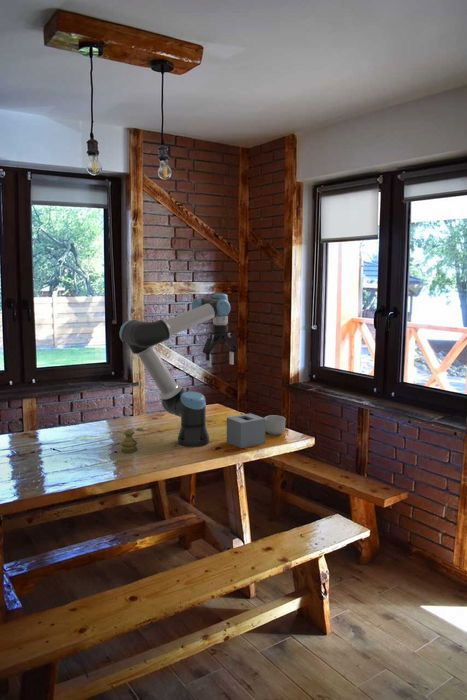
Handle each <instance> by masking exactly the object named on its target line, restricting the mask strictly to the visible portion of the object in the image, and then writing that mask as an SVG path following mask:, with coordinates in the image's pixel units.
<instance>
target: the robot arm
mask: <svg viewBox="0 0 467 700" xmlns="http://www.w3.org/2000/svg"><path fill="white" fill-rule="evenodd" d="M230 313H231V304H230V302H229V298H228V294H226V293H213V295H212V297H210V298H208V297H207V298H205V297H204V298H200V297H199V298H194V299H193V300H192V302H191V309H190V310H188V311H185V312H183V313H179V314H177V315H174V316H172V317H168V318H167V319H165V320H163V319H158V320H157V321H156V320H155V321H150V322H149V321H148V322H147V321H142V320H141V321H140V320H137V319H130V320H127V321H125V322H124V323H122V325H121V326H120V329H119V339H120V340H121V342H122V343H123V344H125V345H127V347H128V348H129V349H130V351H131V352H132V354H134V355H137V356H138V358H139V359H140V361H141V362H142V364H143V365H144V368H145V369H146V370H147V373H148V374H149V375H150V377H151V379H152V380H153V381H154V383H155V385H156V387H157V389H158V390H159V391H160V399H161V405H162V409H164V410H165V411H167V413H169V414H171V415H174V416H176V417H180V429H179V432H178V436H177V444H178V445H180V446H183V447H191V448H192V447H203V446H206V445H208V444H210V435H209V433H208V429H207V425H206V423H207V422H206V405H207V403H206V397H205V395H204V394H203V393H201V392H197V391H185V389H184V387H183V385H182V384H181V383H177V382H176V380H175V379H174V377H173V375H172V374H171V372H170V370H169V369H168V367H167V365H166V363H165V362H164V361H163V358H162V357H161V355H160V353H159V352H158V349H156V345H159V344H161V343H163V342H166V341H168V340H169V339H170V338H171V336H175V335H177V334H179V333H181V332H183V331H185V330H189V329H191V328H193V327H196V326H197V325H200V324H203V323H205V322H207V321H209V320H212V323H213V325H212V331H213V334H211V333H209V334H207V340H206V341H205V343H204V347H203V349H202V351H201V352H202V353H203V354H205V360H206V364H207V365H206V367H208V368H212V354H211V353H212V351H213V350H214V348H215V347H216V345H217V344H219V343H224V344H225V345H226V346H227V348H228V349H229V365H235V364H234V361H235V360H234V358H235V356H236V355H235V354H236V352H237V351H238V350H239V348H238V346H237V343H236V341H235V338H234V333H233V332H229V326H228V324H229V320H228V319H229V314H230Z"/></svg>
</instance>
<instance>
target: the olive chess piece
mask: <svg viewBox="0 0 467 700" xmlns="http://www.w3.org/2000/svg"><path fill="white" fill-rule="evenodd" d="M122 433H123V435H125V438H124V439H123V440H121V442H120V445H121V447H120V452H121V453H123V454H135V453H137V452H138V440H136V439H135V438H134V437H133V435H134V434H135V431H134V430H132V429H131V428H130V429H127V430H124V431H123V432H122Z"/></svg>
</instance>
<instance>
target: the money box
mask: <svg viewBox="0 0 467 700" xmlns="http://www.w3.org/2000/svg"><path fill="white" fill-rule="evenodd" d="M226 442H227V443H228V444H231V445H233V446H235V447H237V448H240V449H245V448H248V447H249V448H250V447H253V446H259V445H263V444H266V431H265V417H262V416H259V415H256V414H254V413H251V412H250V413H246V414H245V413H244V414H239V415H233V416H228V417H226Z"/></svg>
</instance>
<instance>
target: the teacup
mask: <svg viewBox="0 0 467 700" xmlns="http://www.w3.org/2000/svg"><path fill="white" fill-rule="evenodd" d="M264 418H265V433H267V434H268V435H272V436H278V435H281V434H282V433H284V431H285V428H286V417H284V416H281V415H278V414H277V415H276V414H275V415H274V414H273V415H272V414H271V415H267V416H265V417H264Z"/></svg>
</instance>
